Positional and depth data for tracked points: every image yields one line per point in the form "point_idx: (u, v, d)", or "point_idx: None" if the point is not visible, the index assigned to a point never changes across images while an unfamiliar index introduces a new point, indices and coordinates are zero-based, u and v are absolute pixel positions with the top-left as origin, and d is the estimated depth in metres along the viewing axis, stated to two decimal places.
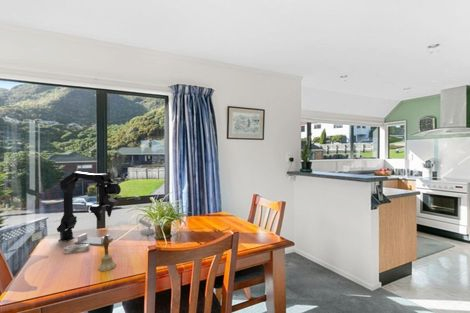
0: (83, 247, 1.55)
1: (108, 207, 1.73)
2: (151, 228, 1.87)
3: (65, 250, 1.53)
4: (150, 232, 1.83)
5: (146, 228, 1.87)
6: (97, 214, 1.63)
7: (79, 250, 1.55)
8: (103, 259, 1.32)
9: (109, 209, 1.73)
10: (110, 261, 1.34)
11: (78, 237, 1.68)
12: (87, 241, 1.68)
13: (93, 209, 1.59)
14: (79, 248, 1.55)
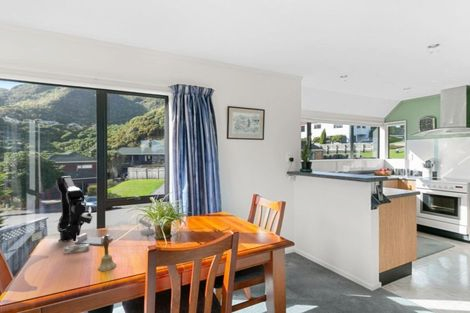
0: (83, 247, 1.55)
1: None
2: (151, 228, 1.87)
3: (65, 250, 1.53)
4: (150, 232, 1.83)
5: (146, 228, 1.87)
6: (73, 234, 1.50)
7: (79, 250, 1.55)
8: (103, 259, 1.32)
9: None
10: (110, 261, 1.34)
11: (78, 237, 1.68)
12: (87, 241, 1.68)
13: (71, 229, 1.47)
14: (79, 248, 1.55)
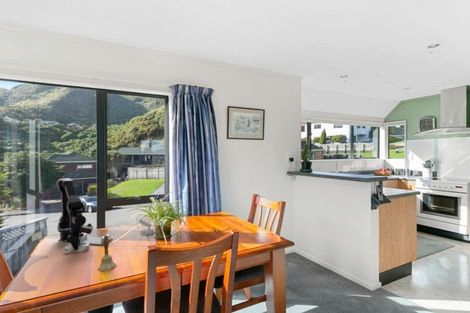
0: (83, 247, 1.55)
1: None
2: (151, 228, 1.87)
3: (65, 250, 1.53)
4: (150, 232, 1.83)
5: (146, 228, 1.87)
6: (74, 243, 1.53)
7: (79, 250, 1.55)
8: (103, 259, 1.32)
9: None
10: (110, 261, 1.34)
11: None
12: (87, 241, 1.68)
13: (72, 240, 1.47)
14: (79, 248, 1.55)
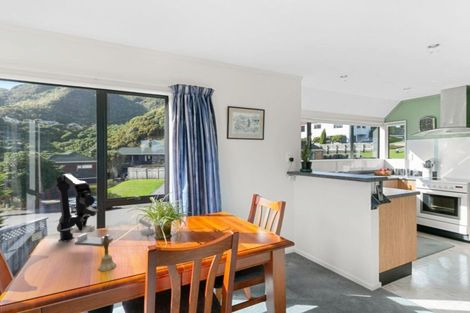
0: (87, 228, 1.59)
1: (83, 218, 1.63)
2: (151, 228, 1.87)
3: (71, 229, 1.58)
4: (150, 232, 1.83)
5: (146, 228, 1.87)
6: (79, 224, 1.57)
7: (83, 230, 1.59)
8: (103, 259, 1.32)
9: (84, 220, 1.63)
10: (110, 261, 1.34)
11: (78, 237, 1.68)
12: (87, 241, 1.68)
13: (74, 220, 1.51)
14: (84, 228, 1.59)
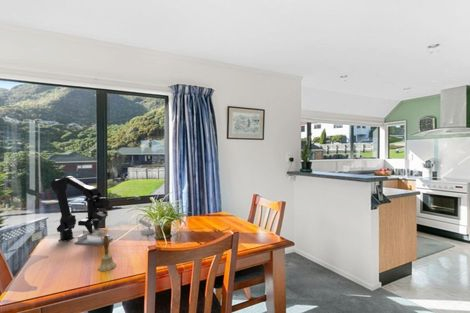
0: (96, 231, 1.67)
1: (95, 222, 1.72)
2: (151, 228, 1.87)
3: (83, 231, 1.69)
4: (150, 232, 1.83)
5: (146, 228, 1.87)
6: (89, 227, 1.66)
7: (93, 234, 1.67)
8: (103, 259, 1.32)
9: (96, 224, 1.72)
10: (110, 261, 1.34)
11: (78, 237, 1.68)
12: (87, 241, 1.68)
13: (81, 224, 1.60)
14: (93, 232, 1.67)
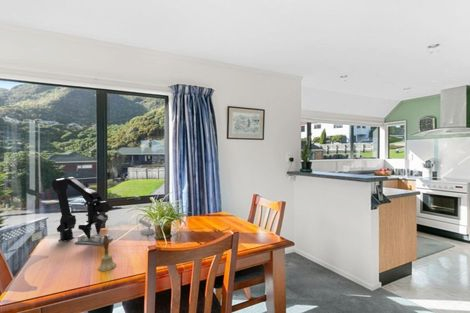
0: (97, 237, 1.67)
1: (97, 224, 1.74)
2: (151, 228, 1.87)
3: (84, 237, 1.69)
4: (150, 232, 1.83)
5: (146, 228, 1.87)
6: (87, 232, 1.64)
7: (94, 239, 1.68)
8: (103, 259, 1.32)
9: (98, 226, 1.74)
10: (110, 261, 1.34)
11: (78, 237, 1.68)
12: (87, 241, 1.68)
13: (82, 228, 1.60)
14: (94, 238, 1.68)
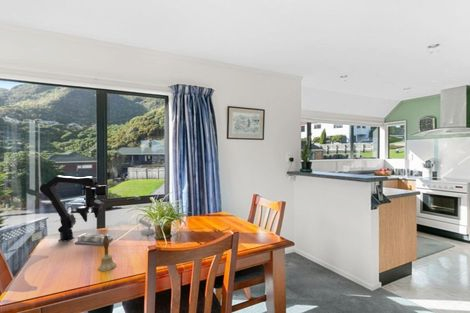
0: (97, 237, 1.67)
1: (95, 209, 1.82)
2: (151, 228, 1.87)
3: (84, 237, 1.69)
4: (150, 232, 1.83)
5: (146, 228, 1.87)
6: (83, 215, 1.71)
7: (94, 239, 1.68)
8: (103, 259, 1.32)
9: (96, 210, 1.81)
10: (110, 261, 1.34)
11: (78, 237, 1.68)
12: (87, 241, 1.68)
13: (79, 210, 1.67)
14: (94, 238, 1.68)
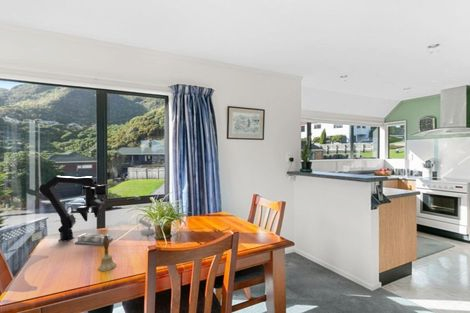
0: (97, 237, 1.67)
1: (95, 208, 1.82)
2: (151, 228, 1.87)
3: (84, 237, 1.69)
4: (150, 232, 1.83)
5: (146, 228, 1.87)
6: (84, 215, 1.72)
7: (94, 239, 1.68)
8: (103, 259, 1.32)
9: (96, 210, 1.82)
10: (110, 261, 1.34)
11: (78, 237, 1.68)
12: (87, 241, 1.68)
13: (80, 210, 1.68)
14: (94, 238, 1.68)
